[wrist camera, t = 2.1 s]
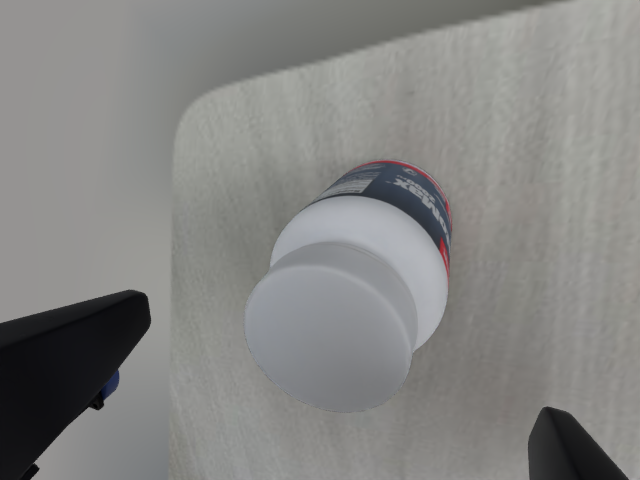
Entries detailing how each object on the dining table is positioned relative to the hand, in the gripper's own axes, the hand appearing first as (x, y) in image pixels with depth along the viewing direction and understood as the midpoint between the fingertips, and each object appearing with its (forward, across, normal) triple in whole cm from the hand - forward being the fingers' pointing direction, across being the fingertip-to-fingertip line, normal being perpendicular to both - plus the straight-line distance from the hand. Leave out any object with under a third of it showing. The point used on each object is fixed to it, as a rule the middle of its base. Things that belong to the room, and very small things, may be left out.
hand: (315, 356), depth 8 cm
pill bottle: (+9, 0, 0) cm, 9 cm away
